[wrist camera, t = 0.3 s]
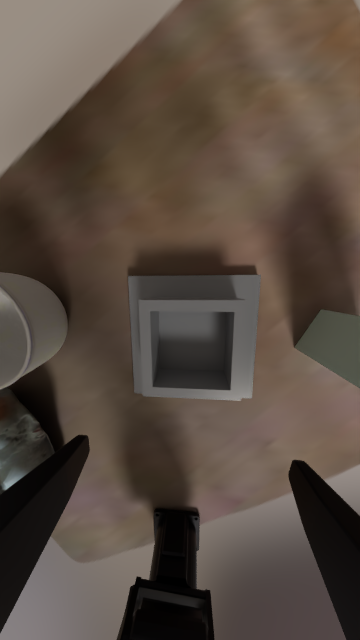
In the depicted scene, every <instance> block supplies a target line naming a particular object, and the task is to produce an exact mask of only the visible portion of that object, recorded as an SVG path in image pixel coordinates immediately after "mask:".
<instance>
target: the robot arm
mask: <svg viewBox="0 0 360 640" xmlns="http://www.w3.org/2000/svg"><path fill="white" fill-rule="evenodd" d="M89 450H90V448H89V439H88V436H87V435H78V436H76V437H75V438H73V439H72V440H71V441H69V442H68V443H67V444H65V445H64V446H63V447H62V448H60V449H59V450H58V451H56V452H55V453H54V454H52V455H51V456H50V457H48V458H47V459H46V460H45V461H43V462H42V463H41V464H39V465H38V466H37V467H35V468H34V469H33V470H31V471H30V472H29V473H27V474H26V475H25V476H24V477H22V478H21V479H20V480H18V481H17V482H16V483H14V484H13V485H12V486H10V487H9V488H8V489H6V490H5V491H4V492H3V493H1V494H0V633H1V631H2V629H3V627H4V625H5V623H6V621H7V619H8V617H9V615H10V613H11V612H12V610H13V608H14V606H15V604H16V602H17V600H18V598H19V596H20V594H21V592H22V590H23V588H24V586H25V584H26V582H27V580H28V579H29V577H30V575H31V573H32V571H33V569H34V567H35V565H36V563H37V561H38V559H39V557H40V555H41V554H42V552H43V550H44V548H45V546H46V544H47V542H48V540H49V538H50V536H51V534H52V532H53V530H54V528H55V526H56V524H57V523H58V521H59V519H60V517H61V515H62V513H63V511H64V509H65V507H66V505H67V503H68V501H69V499H70V497H71V495H72V493H73V490H74V488H75V486H76V483H77V481H78V478H79V476H80V474H81V471H82V469H83V466H84V464H85V462H86V459H87V457H88V454H89ZM289 481H290V484H291V488H292V491H293V494H294V497H295V501H296V504H297V508H298V511H299V514H300V517H301V521H302V524H303V527H304V530H305V533H306V535H307V538H308V541H309V544H310V546H311V549H312V551H313V554H314V557H315V559H316V562H317V564H318V567H319V570H320V572H321V575H322V577H323V580H324V583H325V585H326V588H327V590H328V593H329V596H330V598H331V601H332V603H333V606H334V609H335V611H336V614H337V616H338V619H339V622H340V624H341V627H342V629H343V632H344V635H345V637H346V640H360V516H359V515H358V514H357V513H356V512H355V511H354V510H353V509H352V508H351V507H350V506H349V505H348V504H347V503H346V502H345V501H344V500H343V499H342V498H341V497H340V496H339V495H338V494H337V493H336V492H335V491H334V490H333V489H332V488H331V487H330V486H329V485H328V484H327V483H326V482H325V481H324V480H323V479H322V478H321V477H320V476H319V475H318V474H317V473H316V472H315V471H314V470H313V469H312V468H311V467H310V466H309V465H308V464H307V463H306V462H304V461H302V460H293V461H292V464H291V467H290V470H289ZM199 521H200V517H199V514H198V513H195V512H185V511H174V510H164V509H155V511H154V531H155V545H154V552H153V558H152V565H151V571H150V578H149V580H146V579H141V577H137V578H136V582H135V585H133V586H131V587H130V592H129V596H128V601H127V605H126V609H125V613H124V617H123V620H122V624H121V627H120V630H119V634H118V637H117V640H214V629H213V618H212V606H211V594H210V590H199V589H197V574H196V573H197V571H196V570H197V563H196V562H197V559H196V557H197V556H196V554H197V553H196V551H198V550H199Z"/></svg>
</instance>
